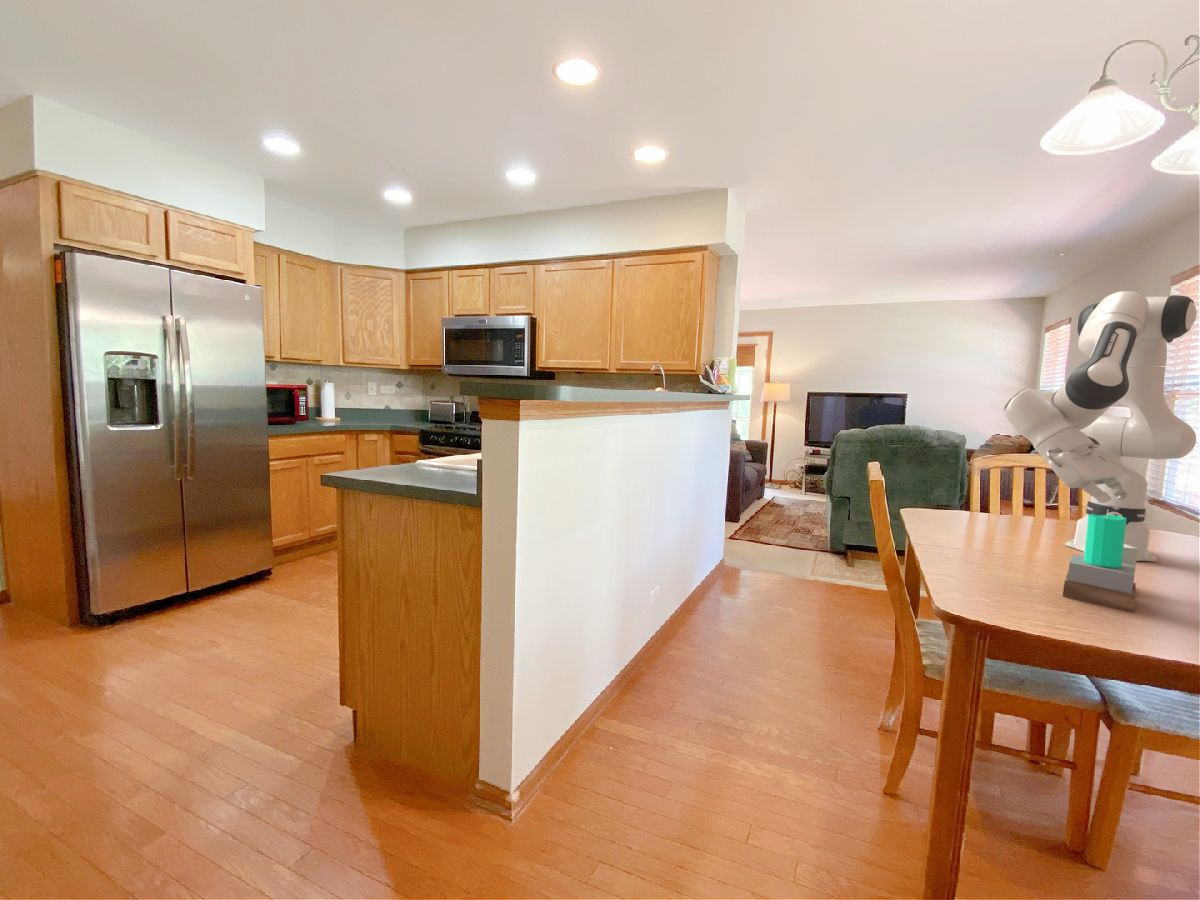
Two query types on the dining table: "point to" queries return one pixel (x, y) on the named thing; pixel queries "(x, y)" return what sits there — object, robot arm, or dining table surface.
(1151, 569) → the dining table surface
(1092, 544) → the candle
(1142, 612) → the dining table surface
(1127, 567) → the tower top
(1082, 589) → the tower base
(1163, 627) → the dining table surface
